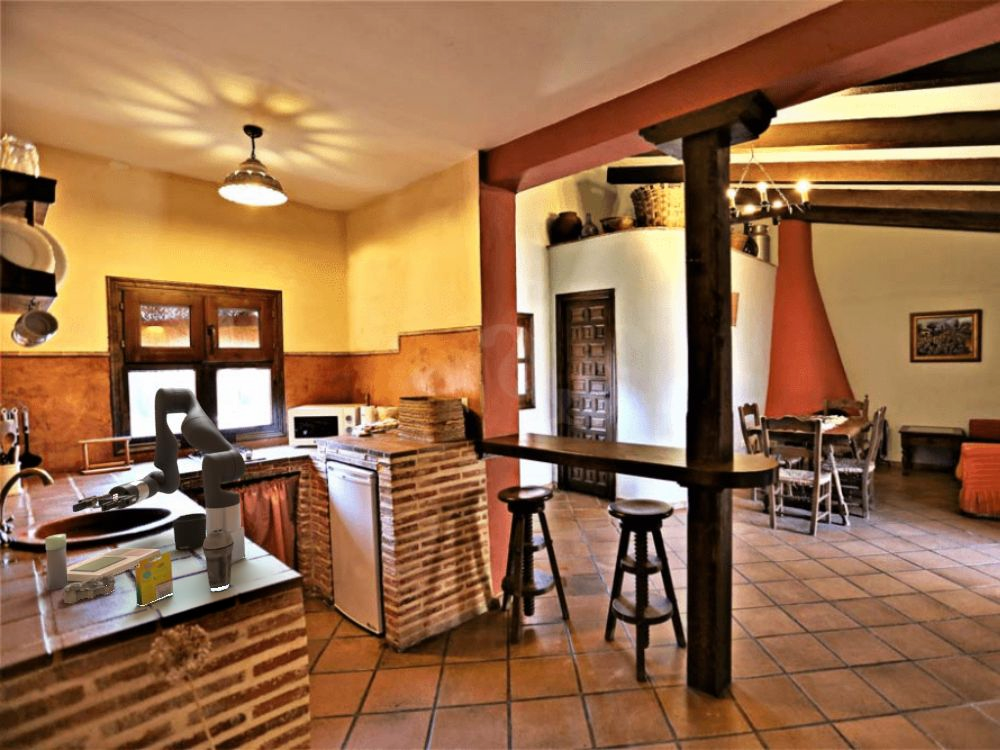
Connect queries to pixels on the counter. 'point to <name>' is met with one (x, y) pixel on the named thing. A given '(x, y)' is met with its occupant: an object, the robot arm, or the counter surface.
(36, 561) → the counter surface
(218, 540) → the beverage cup
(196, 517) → the pen holder
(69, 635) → the counter surface
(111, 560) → the drawing board
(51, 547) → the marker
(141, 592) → the crayon box
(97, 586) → the egg carton
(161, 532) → the counter surface
